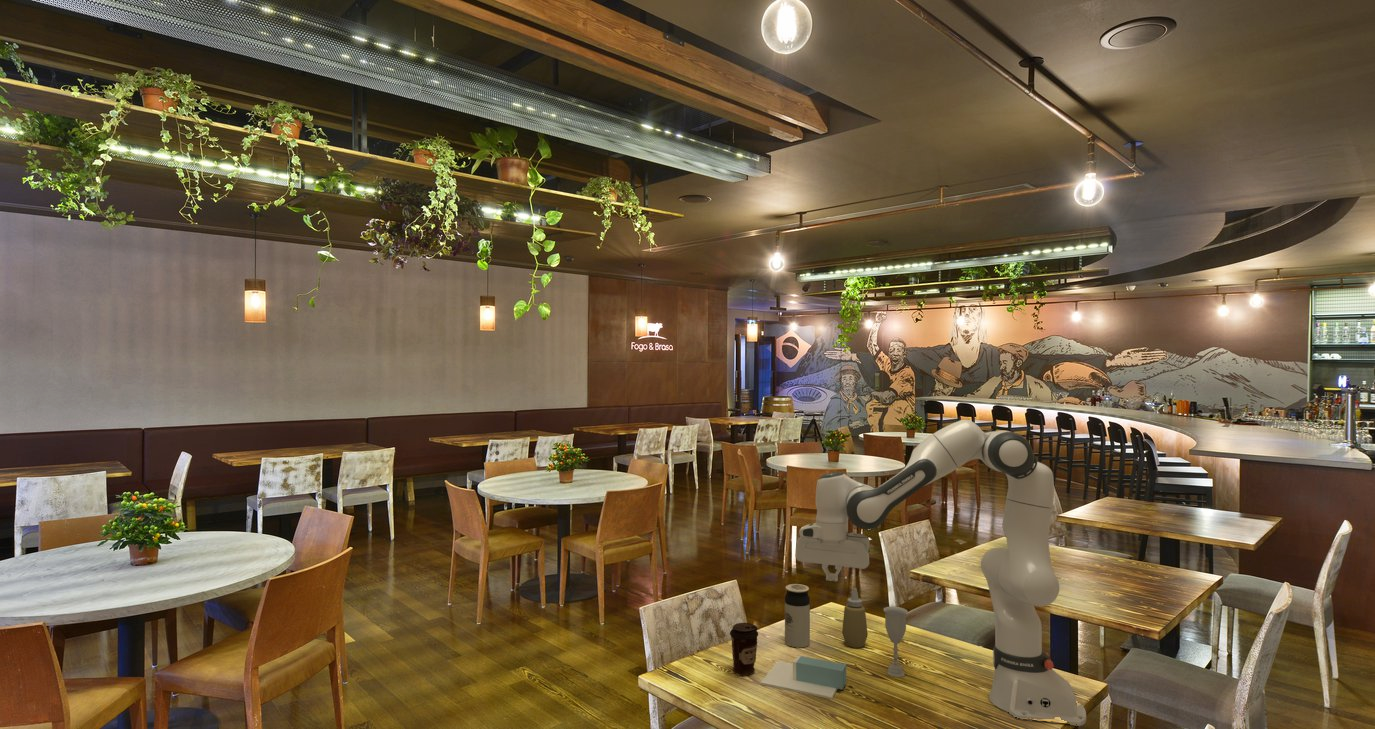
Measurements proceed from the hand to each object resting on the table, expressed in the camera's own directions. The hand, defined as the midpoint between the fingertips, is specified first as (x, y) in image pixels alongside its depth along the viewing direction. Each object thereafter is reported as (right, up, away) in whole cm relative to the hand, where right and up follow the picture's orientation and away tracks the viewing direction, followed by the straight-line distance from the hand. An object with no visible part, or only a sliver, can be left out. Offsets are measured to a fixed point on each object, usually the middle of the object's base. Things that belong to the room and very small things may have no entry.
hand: (831, 580), depth 189 cm
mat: (-7, -29, +3) cm, 30 cm away
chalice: (+20, -29, +7) cm, 36 cm away
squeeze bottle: (+13, -30, +28) cm, 43 cm away
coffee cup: (-24, -29, +8) cm, 39 cm away
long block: (+3, -26, -2) cm, 26 cm away
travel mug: (-5, -30, +29) cm, 42 cm away
